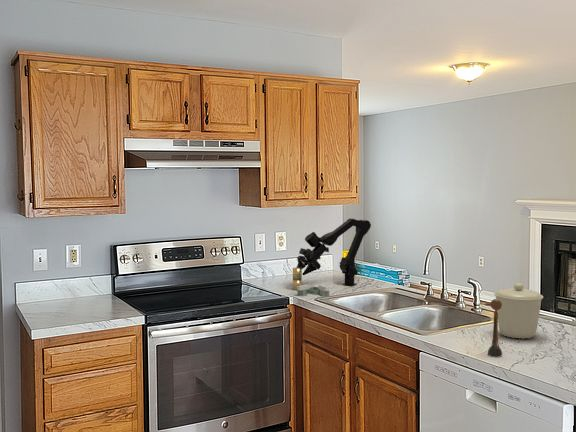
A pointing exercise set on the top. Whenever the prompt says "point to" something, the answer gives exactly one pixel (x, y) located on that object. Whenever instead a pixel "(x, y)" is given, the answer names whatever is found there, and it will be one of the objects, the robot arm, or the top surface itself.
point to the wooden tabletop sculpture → (495, 329)
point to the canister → (518, 311)
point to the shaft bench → (312, 290)
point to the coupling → (297, 278)
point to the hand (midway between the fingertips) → (299, 273)
